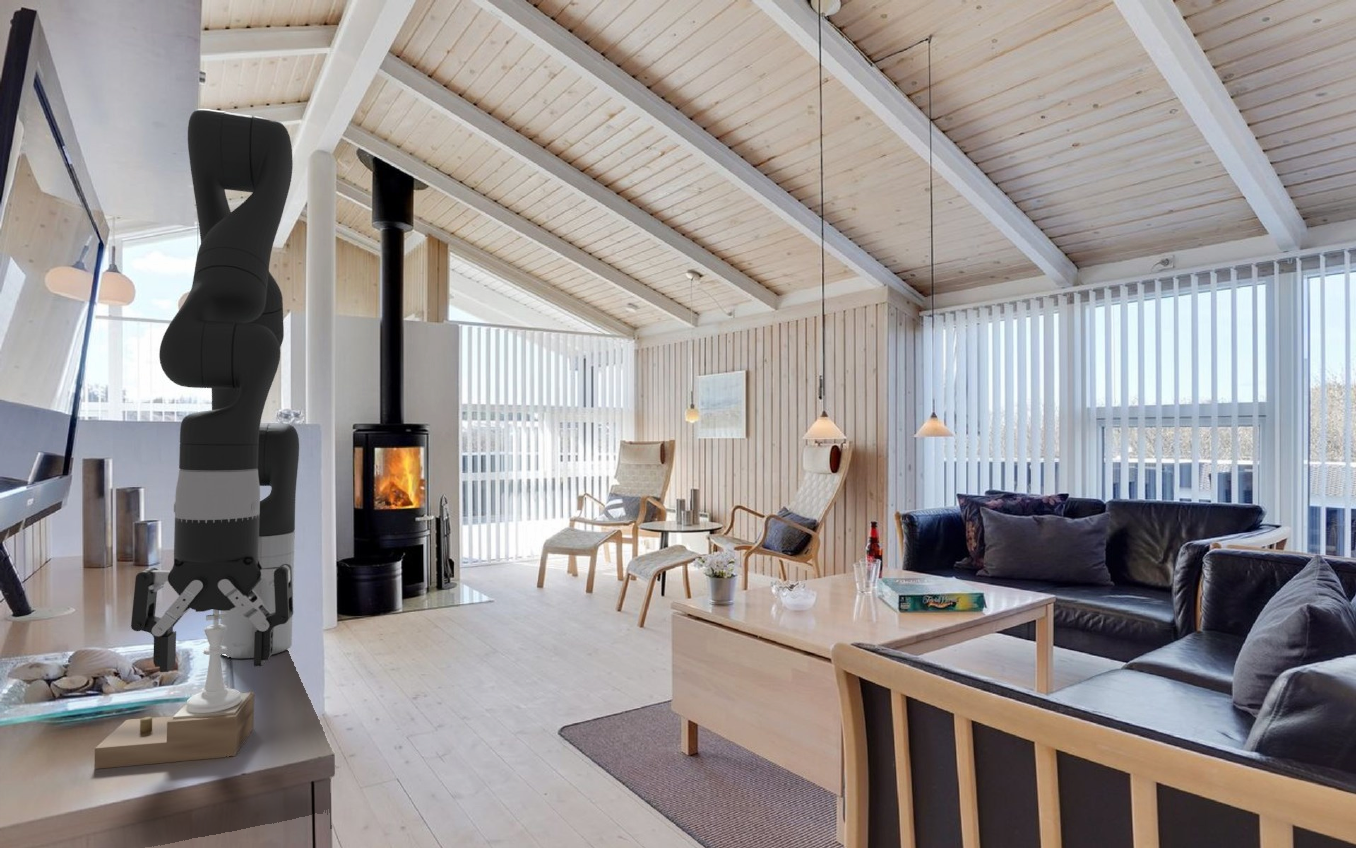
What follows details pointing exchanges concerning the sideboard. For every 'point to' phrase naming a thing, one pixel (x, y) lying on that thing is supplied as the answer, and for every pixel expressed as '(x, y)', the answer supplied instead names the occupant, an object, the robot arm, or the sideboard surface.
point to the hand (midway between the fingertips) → (214, 667)
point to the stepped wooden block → (178, 736)
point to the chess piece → (214, 674)
